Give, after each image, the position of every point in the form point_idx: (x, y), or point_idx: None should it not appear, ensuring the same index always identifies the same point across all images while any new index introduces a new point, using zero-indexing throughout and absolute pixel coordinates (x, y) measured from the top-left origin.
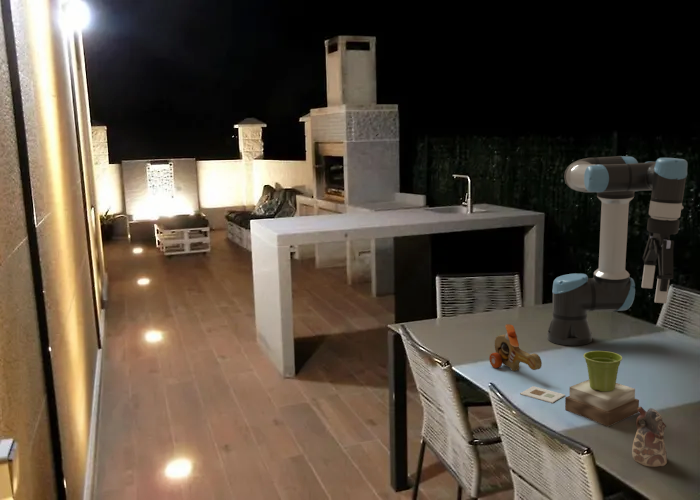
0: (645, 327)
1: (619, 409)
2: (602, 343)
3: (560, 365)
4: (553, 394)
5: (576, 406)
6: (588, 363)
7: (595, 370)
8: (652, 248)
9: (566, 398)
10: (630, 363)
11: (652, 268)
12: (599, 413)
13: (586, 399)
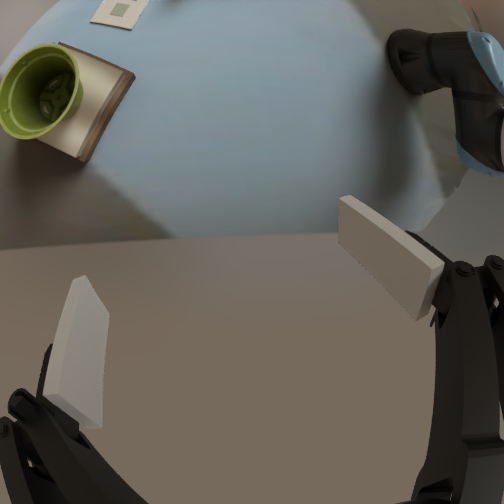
0: (452, 175)
1: (36, 139)
2: (406, 105)
3: (295, 18)
4: (127, 13)
5: None
6: (20, 67)
7: (18, 87)
8: (454, 476)
9: (58, 44)
10: (333, 136)
11: (408, 298)
12: None
13: None
